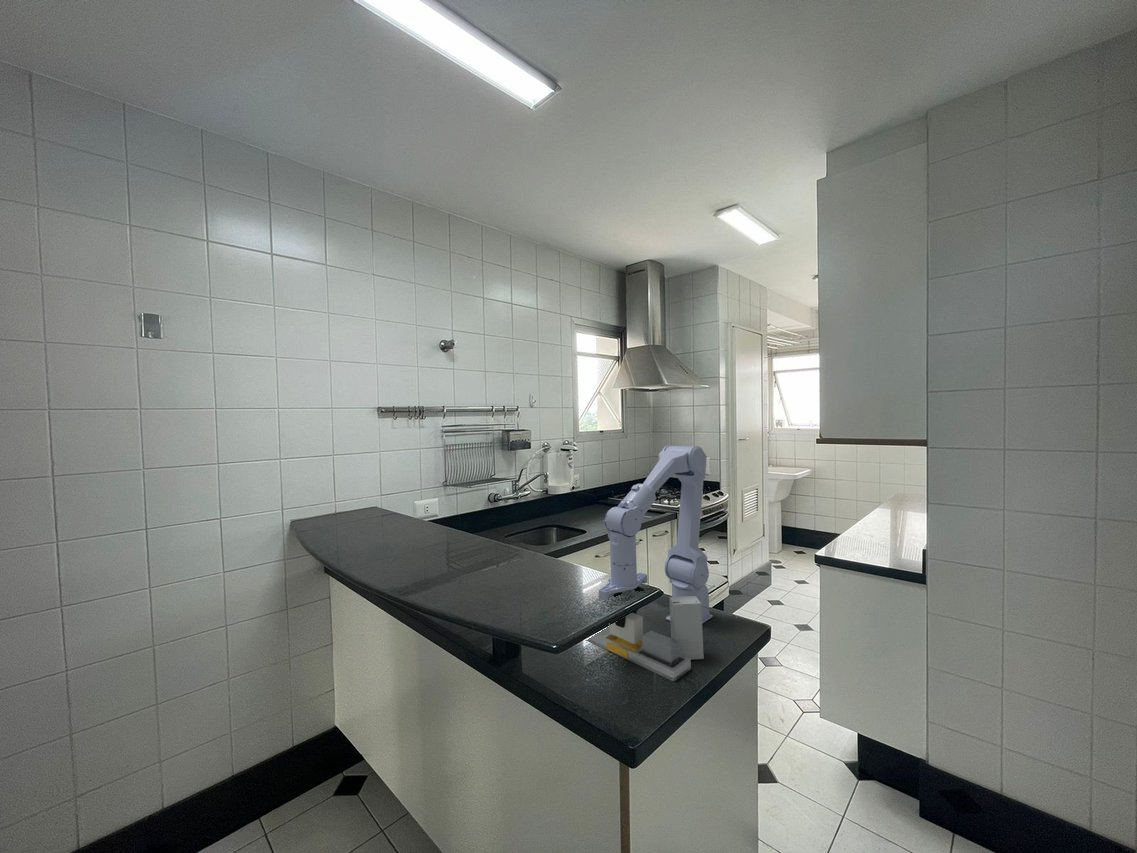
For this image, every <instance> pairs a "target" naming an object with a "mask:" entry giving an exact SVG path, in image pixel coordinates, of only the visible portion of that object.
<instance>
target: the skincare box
mask: <svg viewBox="0 0 1137 853" xmlns="http://www.w3.org/2000/svg"><path fill="white" fill-rule="evenodd" d="M668 599H669V600H668V601H669V616H670V621H669V622H670V636H671V637H670V638H671V639H674V640H676V641H679V650H680V655H682V656H684V657H687V658H689V659H691V660H704V659H705V657H704V637H703V636H704V633H703V623H702V612H701V603H700V601H699V600H698V598H697V597H696V596H686V597H673V596H669V598H668Z"/></svg>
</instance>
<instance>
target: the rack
mask: <svg viewBox="0 0 1137 853" xmlns="http://www.w3.org/2000/svg"><path fill="white" fill-rule="evenodd" d="M586 641H587V642H589V643H591V644H594V645H595V646H598V647H600V648H602V649H604V650H607V651H608V652H611V653H613V654H614V655H617V656H618V657H620V658H621V657H622V658H623V659H626V660H627V661H629V662H631V663H633V664H636V665H638V666H640V667H642V668H644V669H646V670H648V671H650V672H652V673H654V674H657V675H658V676H661V677H662V678H665V679H667V680H669V681H671V682H676V681H677V680H678V679H680V678H682V676H684V675H685V674H686V673H687V672H689V671H691V669H692V662H691V660H692V659H689V658H687V657H684V656H682V655H680V650H679V641H676V640H674V639H671V637H669V636H666V635H663V634H661V633H659V632H656V631H653V630H649V631H648V632H645V633H643V635H642V640H641V641H639V642H638V643H636V644H633V643H630V642H628V641H626V640H624V639H621V638H619V637H617V636H615V635H612V634H610V626H609V627H607V628H606V629H604V630H602V631H601V632H599V633H597V634H595V635H594V636H592V637H591V638H589V639H588V640H586Z"/></svg>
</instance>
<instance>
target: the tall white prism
mask: <svg viewBox="0 0 1137 853" xmlns="http://www.w3.org/2000/svg"><path fill="white" fill-rule="evenodd" d="M643 617H644V616H642V615H639V614H638V613H636V614H635V613H630V614H629V615H627V616H626V618H625V626H624V627H623V628H622V627H619V626H617V625H616V624H615V623H613V624H612V625H610V624H609V625H610V634H612V635H615V636H617V637H619V638H621V639H624V640H626V641H628V642H630V643H633V644H636V643H638V642H639V641H641V640H642V635H644V631H643V630H644V625H643V624H644V623H643V621H644V620H643V619H644V618H643Z"/></svg>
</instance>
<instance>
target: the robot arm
mask: <svg viewBox="0 0 1137 853" xmlns="http://www.w3.org/2000/svg"><path fill="white" fill-rule="evenodd" d="M707 460H708V459H707V454H706V453H705V452H704V450H703V448H702V447H701V446H700V445H693V446H691V445H690V446H689V445H686V446H685V445H671V444H670V445H669V444H667V445H665V446H664V447H663V448H662V450H661V451H660V452H659V453H658V461H657V463H656V464H655V466H654V467H653V469H652V470H651V472H650V473H649V474H648V475H647V477H646V479H645V480H644V481H643V483H636V484H634V485H632V487H631V488H630V491H629V492H628V493H627V495H626V496H624V497H623V499H622V500H621V501H620V502H619V504H618V505H617V506H614V507H611V508H610V509H609V510H608V511H607V512H606V513H605V518H604V519H603V526H604V528H605V531H606V532H607V538H608V540H609V549H610V550H609V552H610V555H609V556H610V557H609V558H610V577H608V579H607V582H608V583H606V584H605V585H604V586H603V587H602V588H599V589H598V599H599V600H602V601H604V602H607V600H609V598H610V597H612V596H614V597H616V596H618V595H621V594H622V592H623V591H628V590H633V589H634V590H635V591H639V592H640V591H644V592H645V588H643V587H641V586H640V585H641V584H647V583H648V580H649V579H648V573H644V572H639V573H638V572H637V569H638V568H637V564H638V563H637V542H636V541H637V540H636V538H637V537H636V535H637V534H638V533H639V532H640V531H641V527H642V523H643V520H644V516H645V515H646V513H647V512H648V510H649V509H650V508H651V507H652V505H653V504H654V503H655V501H656V499H657V498H656V493H657V491H658V490H659V489H660V488H661V487H662V486H663V485H664V484H665V483H666V482H667V481H668V480H669V478H670V477H672V476H674V477H676V478H677V479H678V481H680V482H681V488H680V500H679V511H678V526H677V535H676V544H675V545H674V546H672V547H670V548H669V549H668V554H667V558H666V560H665V562H664V573H665V577H667V578H668V579H669V584H672V585H671V588H672V589H671V590H672V597H686V596H696V597H697V598H698V600H699V601H700V603H701V612H702V624H704V623H706V622H707V621H708V620H710V619H711V618H713V614H710V596H709V595H710V592H709V589H708V586H707V585H706V584H707V582H708V580H709V577H710V571H709V566H708V556H707V555H706V553H704V551H702V549H701V548H700V547H699V540H700V530H701V517H702V504H703V491H704V490H703V489H704V480H705V479H706V470H707ZM702 606H703V607H702ZM704 607H707V608H709V609H707V608H704ZM632 613H635V614H638V609H637V610H636V611H634V612H632ZM625 618H626V616H625V617H624V618H622V619H620V620H618V621H617V622H615V624H616V625H617V626H619V627H622V628H623V627H624V626H625ZM665 619H666V620H667V621H669V622H671V621H670V615H667V616H666V617H665Z"/></svg>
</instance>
